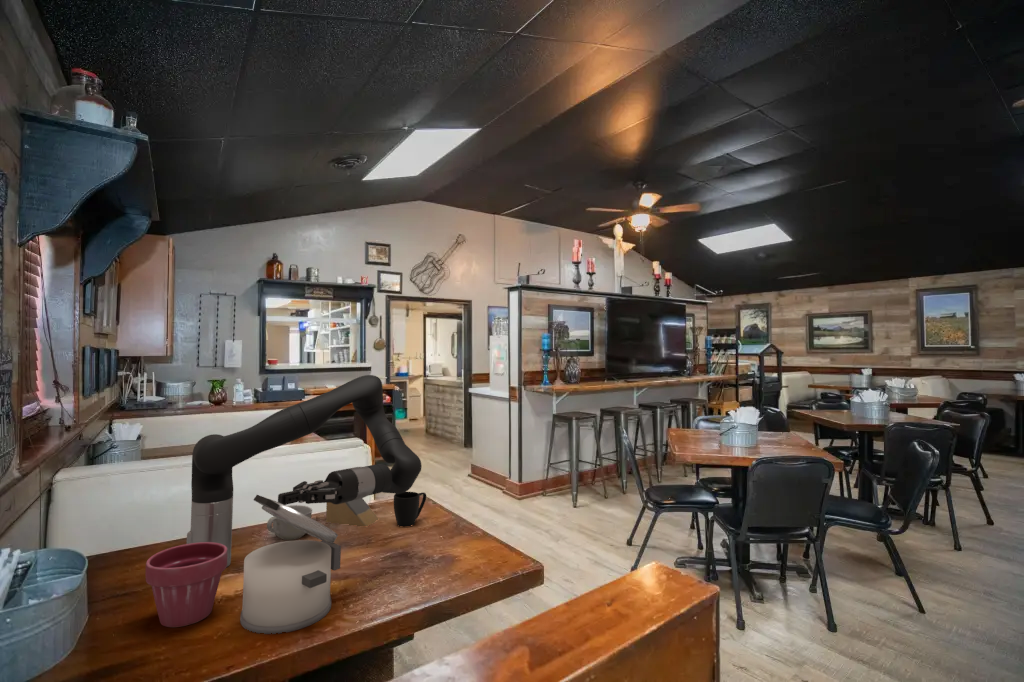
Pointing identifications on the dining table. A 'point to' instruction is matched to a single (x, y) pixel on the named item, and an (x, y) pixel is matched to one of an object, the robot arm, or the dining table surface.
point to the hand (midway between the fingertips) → (279, 499)
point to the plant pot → (186, 581)
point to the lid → (297, 519)
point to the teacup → (285, 529)
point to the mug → (407, 507)
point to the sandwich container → (350, 513)
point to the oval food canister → (288, 585)
